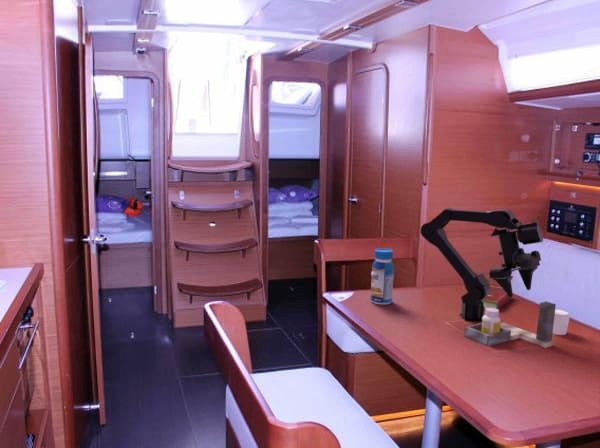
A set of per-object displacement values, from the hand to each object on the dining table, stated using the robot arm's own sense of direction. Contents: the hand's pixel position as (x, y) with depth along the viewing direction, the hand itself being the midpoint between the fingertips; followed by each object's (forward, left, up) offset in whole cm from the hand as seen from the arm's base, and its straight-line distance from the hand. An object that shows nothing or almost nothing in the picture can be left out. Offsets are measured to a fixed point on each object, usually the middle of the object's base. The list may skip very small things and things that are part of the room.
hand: (520, 293), depth 179 cm
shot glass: (+12, -4, -12) cm, 17 cm away
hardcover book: (+2, +29, -13) cm, 31 cm away
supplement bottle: (-13, -10, -12) cm, 21 cm away
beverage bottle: (-40, +27, -12) cm, 50 cm away
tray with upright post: (-8, -11, -12) cm, 18 cm away
